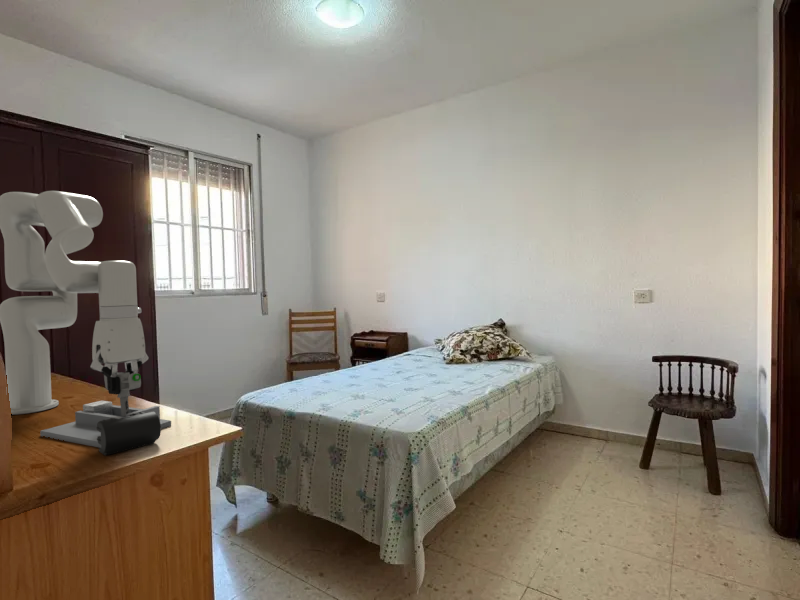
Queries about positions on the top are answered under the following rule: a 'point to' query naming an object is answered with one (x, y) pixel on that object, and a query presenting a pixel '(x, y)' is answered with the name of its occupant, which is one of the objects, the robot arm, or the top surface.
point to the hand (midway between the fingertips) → (122, 391)
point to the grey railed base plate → (93, 425)
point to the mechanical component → (126, 388)
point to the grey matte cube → (99, 407)
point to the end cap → (128, 432)
